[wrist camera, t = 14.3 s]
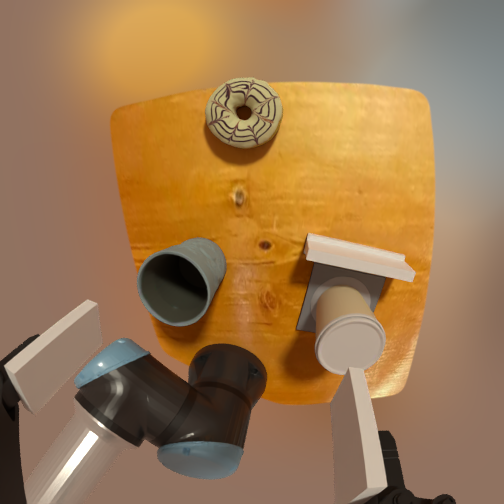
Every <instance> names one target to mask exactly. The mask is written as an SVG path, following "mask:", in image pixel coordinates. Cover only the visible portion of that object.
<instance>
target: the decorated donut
mask: <svg viewBox="0 0 504 504" xmlns="http://www.w3.org/2000/svg"><path fill="white" fill-rule="evenodd" d="M240 106H241V107H242V106H248V107H249V108H250V109H251V111H252V114H251V117H250V118H249V119H248V120H241V119H239V118H238V116H237V114H236V112H237V109H238V108H239V107H240ZM205 114H206V123H207V125H208V127H209V128H210V130H211V132H212V133H213V134H214V135H215V136H216V137H217V138H218V139H220V140H221V141H222V142H224V143H226V144H228V145H231V146H233V147H237V148H241V149H248V148H253V147H257V146H260V145H262V144H264V143H266V142H268V141H269V140H271V139H272V138H273V137H274V135H275V134H276V132H277V130H278V128H279V126H280V123H281V121H282V118H283V107H282V104H281V100H280V97H279V95H278V93H277V92H275V91H274V89H273V88H271V86H270V85H268V83H267V82H265V81H263V80H257V79H255V78H253V77H252V78H236V79H232V80H229V81H228V82H226V83H224V84H223V85H221V86H219V87H218V88H217V89H216V90H215V91H214V93H213V94H212V95H211V96H210V99H209V100H208V103H207V106H206V109H205Z"/></svg>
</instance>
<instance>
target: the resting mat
mask: <svg viewBox="0 0 504 504" xmlns="http://www.w3.org/2000/svg"><path fill="white" fill-rule="evenodd" d="M385 279H386V278H385V277H383V276H379V275H374V274H369V273H365V272H360V271H355V270H350V269H346V268H341V267H336V266H331V265H326V264H322V263H317V262H314V266H313V270H312V274H311V277H310V281H309V285H308V289H307V292H306V296H305V300H304V303H303V307H302V310H301V314H300V317H299V321H298V324H297V329H298V330H303V331H309V332H314V333H316V308H317V302H318V299H319V297H320V296H321V294H322V293H323V292H324V291H325V290H327V289H328V288H330V287H332V286H335V285H339V284H345V285H350V286H352V287H354V288H355V289H357V290H358V291H359V293H360V294H361V295H362V297H363V298H364V300H365V301H366V303H367V305H368V306H369V308H370V309H371V311H372V312H374V310H375V307H376V305H377V302H378V299H379V296H380V294H381V291H382V288H383V285H384V282H385Z"/></svg>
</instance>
